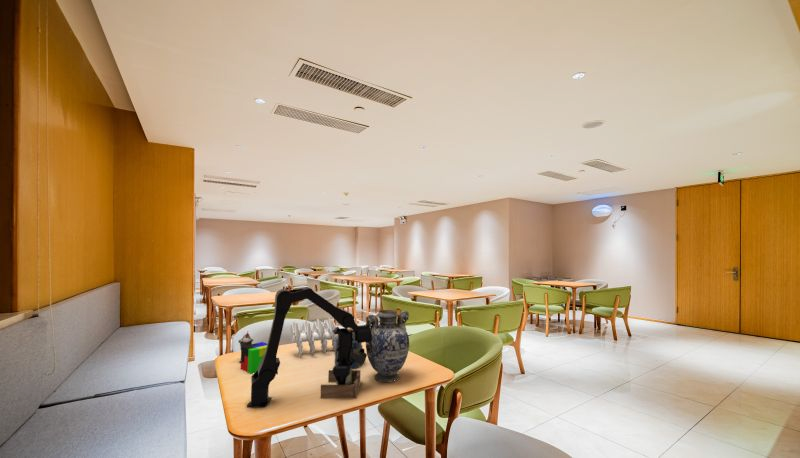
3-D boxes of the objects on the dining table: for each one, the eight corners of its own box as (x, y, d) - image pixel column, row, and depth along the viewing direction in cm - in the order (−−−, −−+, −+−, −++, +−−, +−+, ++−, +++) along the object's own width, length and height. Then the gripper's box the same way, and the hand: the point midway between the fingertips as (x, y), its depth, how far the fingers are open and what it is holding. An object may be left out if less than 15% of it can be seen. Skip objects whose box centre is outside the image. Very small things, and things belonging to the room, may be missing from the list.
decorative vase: (375, 390, 130) (376, 316, 132) (355, 376, 145) (356, 310, 148) (420, 379, 141) (420, 312, 143) (397, 367, 157) (397, 306, 159)
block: (349, 392, 128) (350, 373, 129) (336, 392, 128) (337, 373, 129) (351, 386, 133) (351, 368, 134) (338, 386, 133) (339, 368, 134)
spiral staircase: (340, 360, 178) (292, 364, 166) (332, 338, 193) (287, 341, 181) (348, 331, 173) (298, 334, 161) (339, 311, 187) (293, 312, 175)
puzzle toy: (261, 363, 160) (262, 341, 161) (272, 368, 154) (273, 345, 154) (240, 368, 152) (241, 346, 153) (251, 374, 146) (252, 350, 147)
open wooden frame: (356, 398, 123) (356, 385, 123) (320, 398, 123) (320, 385, 123) (360, 381, 139) (360, 370, 139) (328, 381, 139) (329, 370, 139)
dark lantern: (247, 364, 158) (248, 332, 159) (234, 363, 159) (235, 331, 160) (255, 360, 164) (257, 328, 165) (243, 359, 166) (244, 328, 167)
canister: (365, 367, 155) (366, 328, 156) (337, 371, 150) (338, 331, 151) (358, 359, 167) (359, 323, 168) (332, 362, 162) (333, 325, 164)
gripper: (363, 351, 123) (362, 395, 122) (367, 338, 141) (366, 376, 140) (332, 351, 123) (331, 395, 122) (340, 338, 141) (340, 376, 140)
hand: (344, 385), depth 131 cm, fingers open, 9 cm apart
